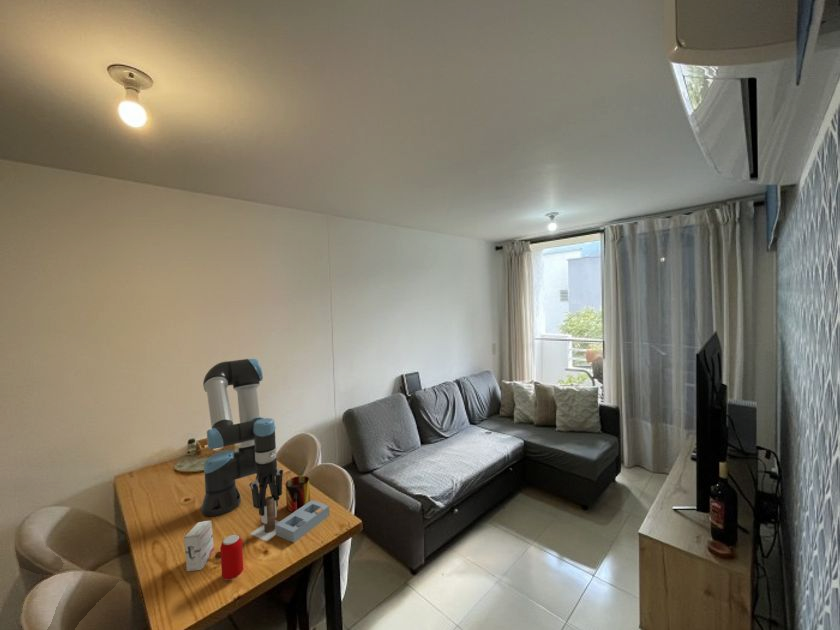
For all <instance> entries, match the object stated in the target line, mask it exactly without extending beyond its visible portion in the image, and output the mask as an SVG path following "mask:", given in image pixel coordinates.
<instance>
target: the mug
mask: <svg viewBox="0 0 840 630" xmlns="http://www.w3.org/2000/svg"><path fill="white" fill-rule="evenodd" d="M285 497H286V499H285V500H286V511H287V512H288V513H290V514H292V513H293V512H295V511H296V510H298V509H299V508H301V507H302V506H304V505H305V504H307V503H308V502H310V501H311V491H310V478H309V477H308V476H306V475H299V476H293V477H291V478H289V479H288V480H287V481H286V482H285Z"/></svg>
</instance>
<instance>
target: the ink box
mask: <svg viewBox="0 0 840 630" xmlns="http://www.w3.org/2000/svg"><path fill="white" fill-rule="evenodd" d="M213 537H214V536H213V525H212V520H205V521H199V522H197V523H196V524H195V525H194V526H193V527H192V529H190V531H188V533H187V534H185V536H183V540H184V541H183V542H184V549H185V550H184V551H185V553H184V554H185V563H186V572H195V571H201V570H202V569H203V568H204V567H205V565H206V564H207V563H208V562H209V558H210V556H211V555H212V553H214V550H215V547H214V538H213Z"/></svg>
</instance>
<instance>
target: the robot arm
mask: <svg viewBox="0 0 840 630" xmlns="http://www.w3.org/2000/svg"><path fill="white" fill-rule="evenodd" d="M263 379H264V378H263V370H262V366H261V363H260V362H259V360H258V359H257V358H246V359H244V358H243V359H236V360H229V361H226V360H225V361H221V362H219V363H216V364H215V365H213V366H212V367H211V368H210V369H209V370H208V372H206V374H205V376H204V378H203V385H202V387H203V390H204V392H205V393H206V396H207V403H208V409H209V410H208V411H209V417H210V418H209V419H210V425H211V426H210V427H211V429H208V430H207V431H206V441H207V448H208V449H209V450H214V449H221V448H223V447H227V446H232V445H235V444H239V446H238V449H237V452H235V451H234V450H233V449H224V450H221V451H217V452H216V453H213V454H212V455H210V456H209V457H207V458H206V459H205V460H204V463H203V467H204V468H203V473H204V491H205V494H204V497H203V501H202V504H201V514H202V515H203V516H206V517H215V516H221V515H224V514H227V513H229V512H231V511H233V510H234V509H236V508H237V507H238V506H239V505H241V502H242V501H241V500H242V498H241V494H240V492H239V490H238V488H237V485H236V480H239V479H242V478H246V477H249V476H253V475H255V474H256V476H255V480H254V481H253V482H250V483H249V487H250V489H251V497H252V505H253V508H256V509H257V510H258V515H259V516H260V521H261V523H263V524H264V523H265V524H267V523H268V522H267V506H265V498H266V497H267V496H266V494H267V489H268V488H269V492H270V496H272V497H273V498H274V517H275V519H276V518H277V517H278V511H277V509H278V508H277V507H279V500H280V498H281V496H282V495H283V473H284V470H283V469H280V468H278V462H277V461H278V459H277V447H276V446H277V445H276V444H277V443H276V426H275V420H274V419H273V418H269V417H267V418H264V417H262V416H260V408H259V400H258V399H259V398H258V390H257V389H258V387H259V386H260V385H261V384H260V382H262V381H263ZM229 386H232V387H233V388H232V389H233V390H234V391H236V393H237V403H238V404H237V405H238V415H239V416H238V417H239V422H238V423H234V421H233V415H232V409H231V405H230V401H229V400H230V399H229V395H228V390H227V389H228V387H229Z"/></svg>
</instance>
